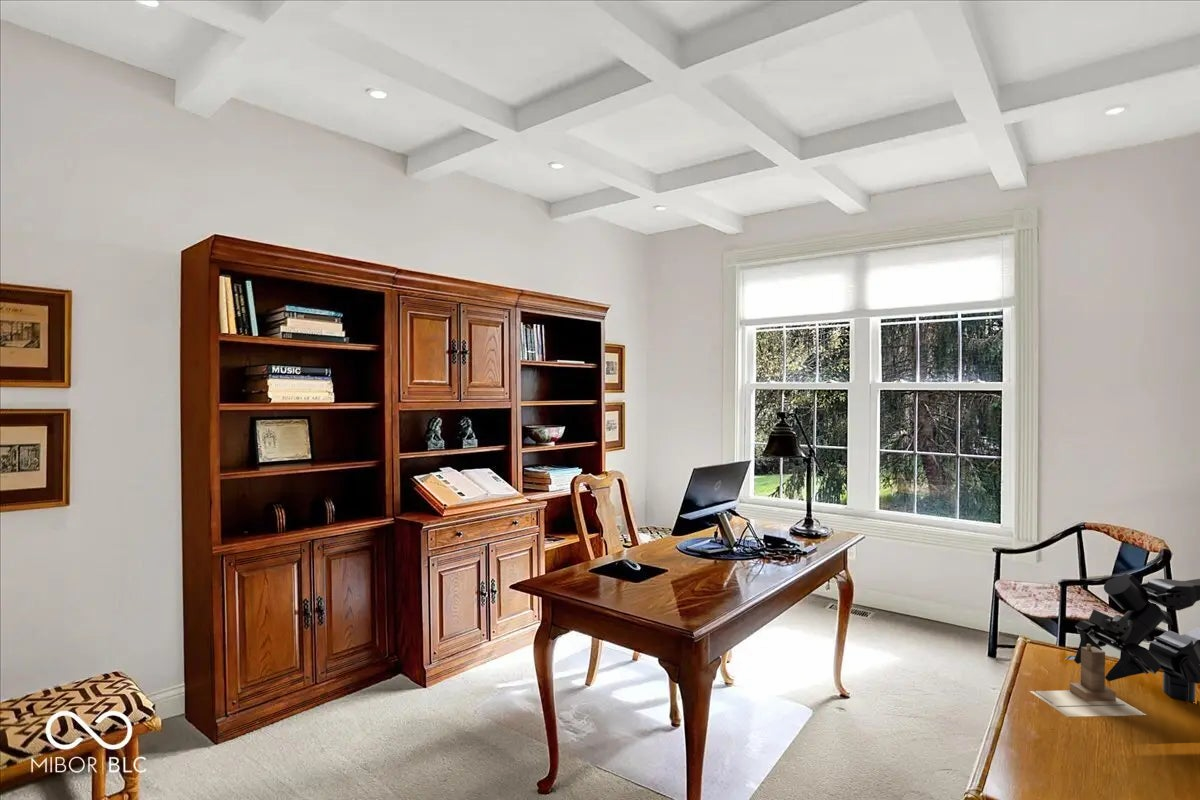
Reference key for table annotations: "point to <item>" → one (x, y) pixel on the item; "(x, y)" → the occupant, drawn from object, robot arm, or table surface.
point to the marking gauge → (1092, 677)
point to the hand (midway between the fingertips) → (1090, 670)
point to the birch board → (1085, 705)
